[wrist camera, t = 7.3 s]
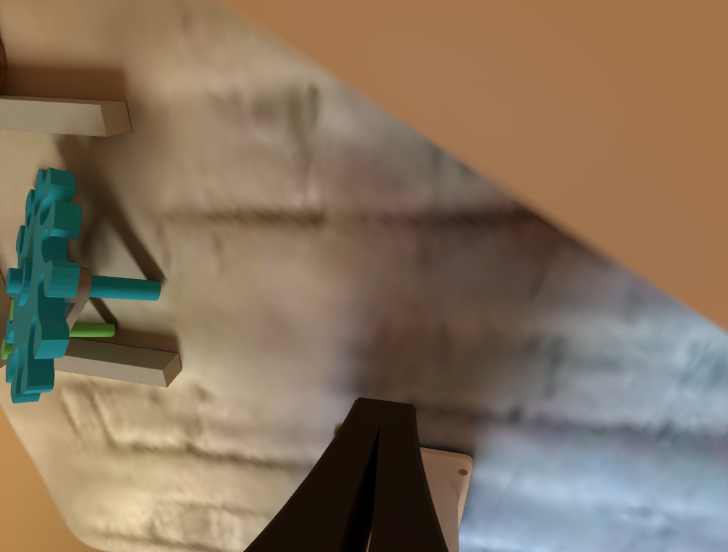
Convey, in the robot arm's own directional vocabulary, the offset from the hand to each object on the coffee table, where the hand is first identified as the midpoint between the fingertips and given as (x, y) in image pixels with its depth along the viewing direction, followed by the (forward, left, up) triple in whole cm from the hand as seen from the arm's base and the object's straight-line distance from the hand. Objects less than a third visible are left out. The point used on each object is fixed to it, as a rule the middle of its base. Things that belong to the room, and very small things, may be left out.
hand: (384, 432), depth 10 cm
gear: (-2, +16, -10) cm, 19 cm away
